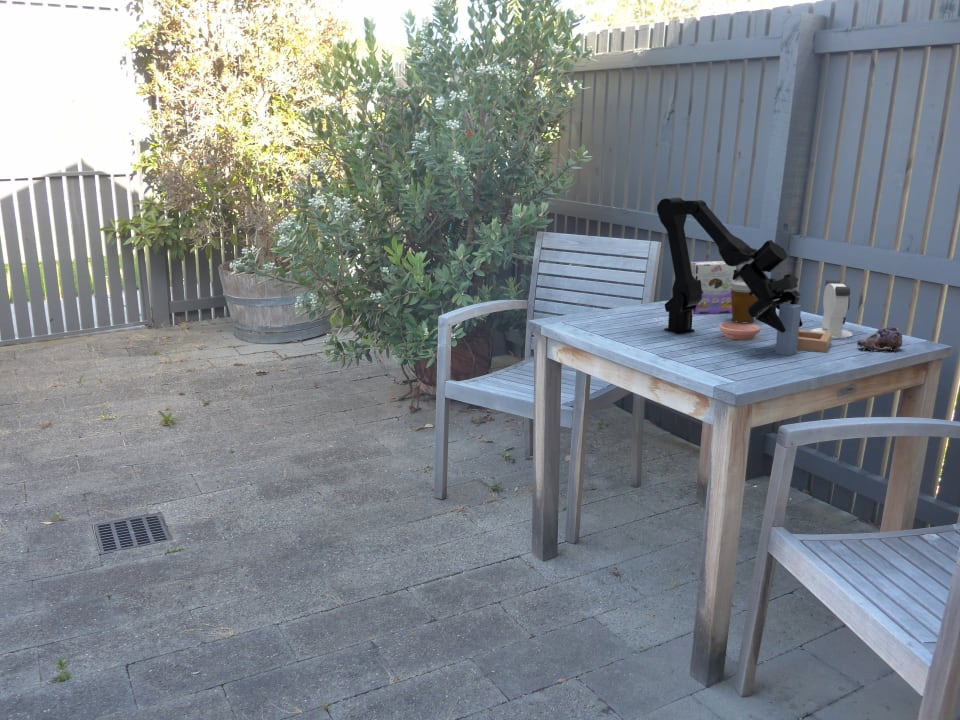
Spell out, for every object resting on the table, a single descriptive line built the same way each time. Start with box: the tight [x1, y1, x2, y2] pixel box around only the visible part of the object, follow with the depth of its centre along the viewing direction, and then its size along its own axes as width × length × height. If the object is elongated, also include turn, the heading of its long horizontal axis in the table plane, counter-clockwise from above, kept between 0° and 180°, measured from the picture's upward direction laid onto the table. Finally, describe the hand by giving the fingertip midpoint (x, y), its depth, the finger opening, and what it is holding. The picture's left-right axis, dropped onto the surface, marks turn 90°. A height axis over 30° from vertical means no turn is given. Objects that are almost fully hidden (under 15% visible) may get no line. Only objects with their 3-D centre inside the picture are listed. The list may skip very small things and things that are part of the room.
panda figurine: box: [810, 280, 853, 340], centre depth 243 cm, size 12×11×15 cm
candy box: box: [690, 260, 738, 315], centre depth 273 cm, size 14×6×16 cm, turn 94°
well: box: [797, 329, 833, 353], centre depth 232 cm, size 10×10×3 cm
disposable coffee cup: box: [730, 280, 757, 324], centre depth 260 cm, size 10×10×12 cm
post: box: [774, 303, 802, 356], centre depth 224 cm, size 4×4×13 cm
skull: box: [856, 326, 903, 351], centre depth 228 cm, size 12×8×6 cm, turn 90°
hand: (792, 328), depth 223 cm, fingers open, 9 cm apart
